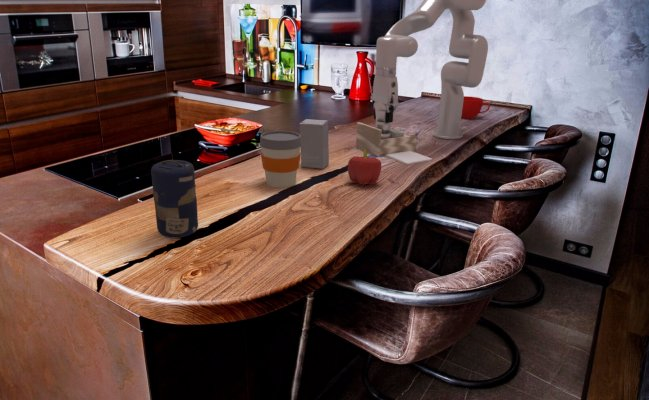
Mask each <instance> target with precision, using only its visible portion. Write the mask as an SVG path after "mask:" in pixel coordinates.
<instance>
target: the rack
mask: <svg viewBox="0 0 649 400" xmlns="http://www.w3.org/2000/svg"><path fill="white" fill-rule="evenodd" d="M390 129H394V130H395V128H394V127H390ZM381 134H382V130H381V129H378V128H376V126H375V127H374V126H371V125H368V124H365V123H362V122H360V121H359V122H356V137H355V139H356V140H355V148H356V149H359V150H360V151H363V149H366V150H367V154H371V155H373V156H374V157H375V156H376V157H378V158H379V157H382V156H383V157H384V156H385V157H386V155H387V154H393V153H400V152H406V151H413V152H416V151H417V150H418V149H417V147H418V142H416V137H417V136H416V135H415V134H412V135H404V137H397V138H390V139H383V140H381Z"/></svg>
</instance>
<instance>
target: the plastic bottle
mask: <svg viewBox="0 0 649 400" xmlns="http://www.w3.org/2000/svg"><path fill="white" fill-rule="evenodd" d="M390 107H391V105H389V108H390ZM375 112H376V119H375V128H378V129H381V130H382V134H381V140H383V139H390V138H391V133H390V128H391V122H390V123H386V122H385V116H386V112H387V109H386V104H383V103H382V102H380V101H378V102H377V103H376V105H375Z"/></svg>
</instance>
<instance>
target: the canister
mask: <svg viewBox="0 0 649 400" xmlns="http://www.w3.org/2000/svg"><path fill="white" fill-rule="evenodd" d="M195 173H196V172H195V167H194V165H193V163H191V162H189V161H187V160H180V159H179V160H178V159H170V160H169V159H168V160H163V161H159V162H156V163H155V164H153V165H152V167H151V169H150V174H151V183H152V184H151V186H152V193H153V194H152V195H153V202H154V211H155V220H156V229H157V232H158V234H160V235H161V236H163V237H167V238H173V239H175V238H177V239H178V238H179V239H180V238H184V237H187V236H190V235H192V234H194V233H195V232H196V231H197V230H198V229H199V228H198V227H199V219H198V218H199V217H198V200H197V192H196V186H197V184H196V179H195Z"/></svg>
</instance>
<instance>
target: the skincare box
mask: <svg viewBox="0 0 649 400" xmlns="http://www.w3.org/2000/svg"><path fill="white" fill-rule="evenodd" d="M299 134H300V135H301V144H302V145H301V146H300V154H301V155H300V164H301V165H300V167H301V168H307V169H308V168H309V169H317V170H318V169H319V170H323V169H325V168H326V167H327V166H328V165H329V163H330V158H329V155H330V154H329V153H330V150H329V120H328V119H327V120H326V119H324V120H323V119H312V118H311V119H309V118H306V119H304V120H303V121H300V122H299Z"/></svg>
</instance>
